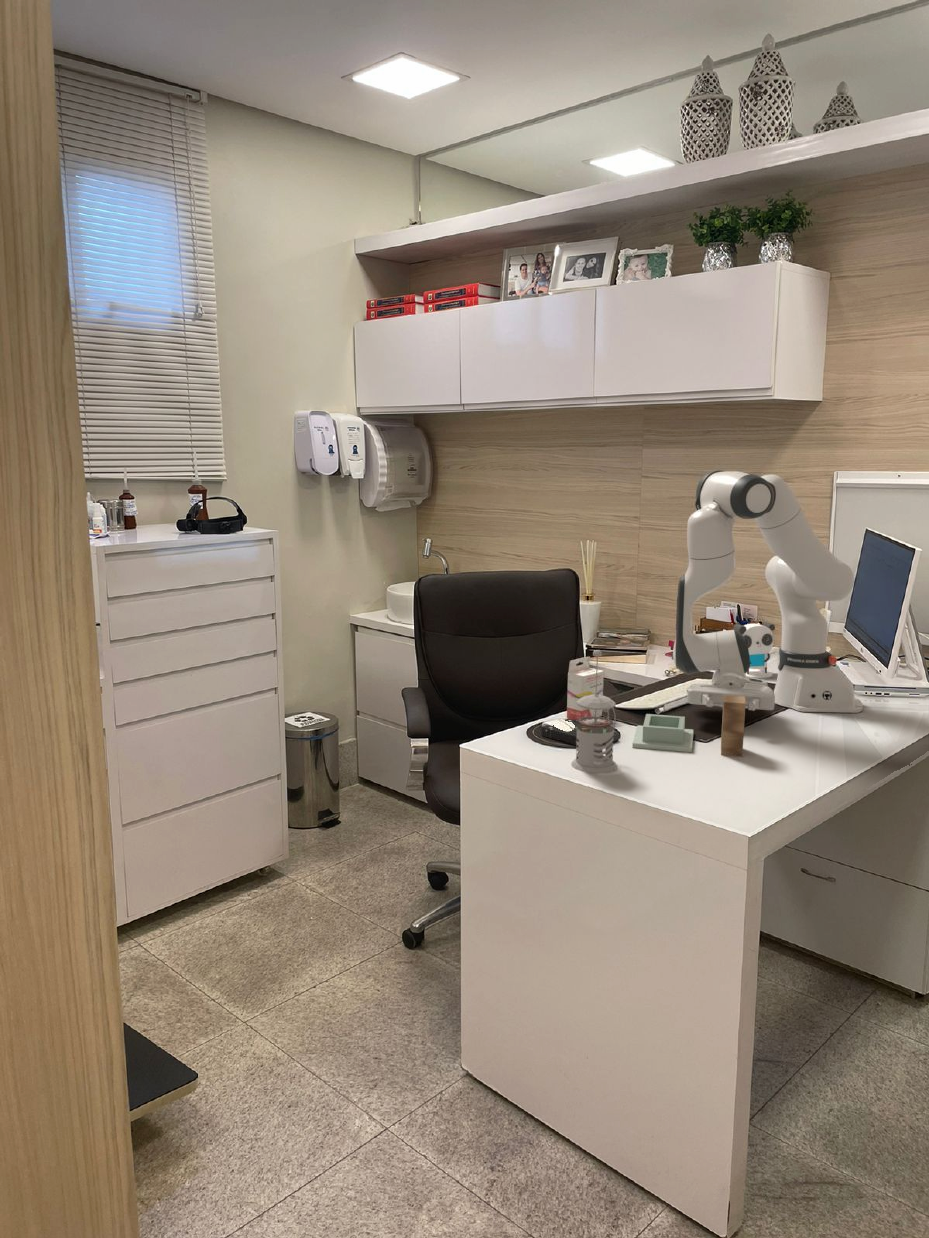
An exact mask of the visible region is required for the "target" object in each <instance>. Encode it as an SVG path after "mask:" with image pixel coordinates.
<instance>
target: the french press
mask: <svg viewBox="0 0 929 1238" xmlns="http://www.w3.org/2000/svg"><path fill="white" fill-rule="evenodd" d="M602 654H603V653H602V651H601V650H600V649H596V650H593V652H592V656H593V657H596V668H595V669H596V694H593V695H588V696H585V697H582V698H580V699H579V700H578V701H577V704H578V705H579V706H580V707H582V708H585V709H591V710H595V716H590V717H589V716H588V717H582V718H580V719H579V723H580V725H578V726H577V740H578V739H579V740H578V742H577V741H576V743H577V745H578V746H577V745H575V746H576V749H575V759H573V760H572V761H571V764H570V765H571V767H572V768H574V769H575V770H578V771H581V772H585V773H589V774H590V773H593V774H596V773H597V774H602V773H603V774H604V773H609V772H612V771H615V770H616V769H617V768H618V764H617V763H616V762H615V761H614V755H613V753H614V748H613V747H614V742H613V738H614V737H613V734H614V731H615V728H616V718H617V717H616V712H615V709H614V708H615V706H616V702H615V701H614V700H613V699H611V697H609V696H606V695H604V694H603V695H598V694H597V670H598V668H599V667H598V666H599V665H598V662H599V661H598V659H599V658H598V657H603V656H602ZM610 709H612V711H613V714H614V720H612V719H610ZM596 710H602V712H605V713H607V717H605V716H603V717H602V716H599V717H598V716H596ZM611 725H613V726H611ZM582 728H588V729H591V730H592V733H591V732H588V731H580V730H581V729H582ZM603 728H606V730H605V732H604V733H603ZM605 742H606V745H603V743H605ZM604 749H605V750H604ZM603 750H604V751H603Z"/></svg>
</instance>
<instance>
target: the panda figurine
mask: <svg viewBox="0 0 929 1238" xmlns="http://www.w3.org/2000/svg"><path fill="white" fill-rule="evenodd" d="M775 629H776V626H775V625H774V624H773V623H770V622H766V621H765V622H763V623H762V624H760V623H748V624H744V625H742V624H739V623H736V624H734V626H733V628H732V630H736V631H738V632H739V633H741V634H742V635H743V636H744V637H745V639H746V642H747V645H748V650H749V656H750V668H749V670H748V671H747V673H746V677H749V678H753V679H767V678H770V677H772V676H773V675H774V674H773V672H772V671H770V670H768V661H770V659H771V655H770V652H771V651H772V649H773V647H774V641H775V640H774V634H773V631H775Z"/></svg>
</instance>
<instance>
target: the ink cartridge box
mask: <svg viewBox="0 0 929 1238" xmlns="http://www.w3.org/2000/svg"><path fill="white" fill-rule="evenodd" d="M579 663H582V664H580V665H579ZM590 663H591V656H584V657H581V658H576V659H572V660H569V664H568V665H569V666H568V673H567V694H566V695H567V696H566V697H567V699H566V702H567V703H566V704H567V705H566V719H568V718H569V719H574V720H577V721H579V719H580V718H582V717H588V716H589V717H590V716H595V710H591V709H585V708H582V707H580V706H579V705H578V704H577V701H578V700H579V699H580V698H582V697H585V696H588V695H593V694H596V668H591V667H590ZM604 672H605V671H604V670H602V669H597V694H598V695H603V696H604V675H605V673H604ZM602 715H603V711H602V710H596V716H598V717H602Z"/></svg>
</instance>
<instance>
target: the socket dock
mask: <svg viewBox="0 0 929 1238" xmlns="http://www.w3.org/2000/svg"><path fill="white" fill-rule="evenodd" d="M685 722H686V717H685V716H681V715H680V716H679V715H665V714H652V713H646V714H645V717H644V722H643V725H636V726H637V727H636V729H635V732H634V733H635V734H634V737H633V740H632V746H631V747H632V748H636V749H646V750H647V749H648V750H659V751H673V752H682V753H683V752H684V753H693V741H694V740H693V739H694V729H692V728H691V729H690V728H685V725H686V723H685Z"/></svg>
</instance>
